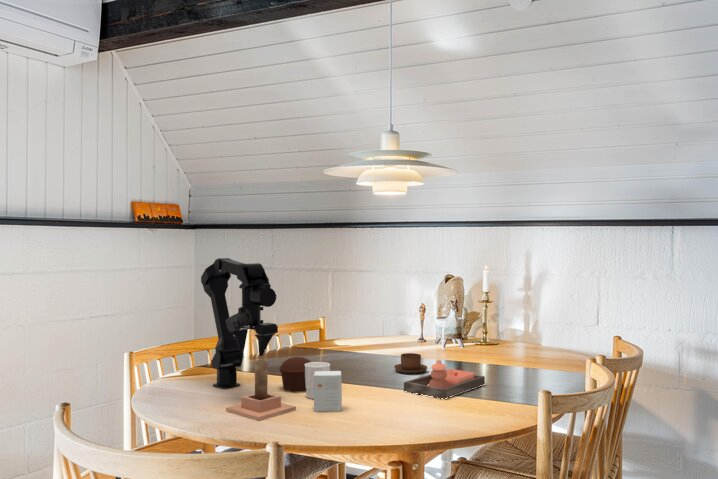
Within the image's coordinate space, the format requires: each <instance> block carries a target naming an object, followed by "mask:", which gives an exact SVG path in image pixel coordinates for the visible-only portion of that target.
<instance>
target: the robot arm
mask: <svg viewBox="0 0 718 479" xmlns="http://www.w3.org/2000/svg"><path fill="white" fill-rule="evenodd" d="M232 275H234V276H236V279H237V280H238V281H240V282H241V284H240V285H239V287H238V288H239V289H241V306H239V307H238V312H237V313H235V314H233V315H231V316H230V312H229V307H228V302H227V297H226V292H227V290H228V287H229V280H231V277H232ZM200 283H201V285H202V287H203V291H204V293H206V295H207V296H208V297H209V298H210V302H211V307H212V312H213V318H214V321H215V322H214V323H215V328H216V334H217V338H218V340H217V342H216V346H215V347H214V349H215V352H214V355H213V357H212V359H211V360H210V364H211V368H212V369H215V370H216V383H212V386H214V387H217V388H221V389H228V388H229V389H230V388H234V387H237V386H238V387H239V386H241V383H239V382H238V380H237V379H238V378H237V374H238V373H237V368H238V367H240V368H241V367H242V363H243V360H244V358H243V357H244V351H245V347H246V342H247V336H248V331H249V330H253V331H255V333H256V334H254V336H255V337H256V338H257V342H258V343H257V345H258V355H259V357H263V356H264V354H265V352H266V349H267V347H268V345H269V344H270V342H271V339H272V338H273V337H274V336H275V335H276V334H278V332H279V329H278V328H279V326H278V325H277V323H273V322H264V319H261V317H262V316H261V314H262V313H261V312H262V311H264V307H266V308H269V307H272V306H273V305H274V304H275V303H276V300H277V294H276V291H275V290H274V289H273V288H272V286H271V285H272V284H270V279H269V277H268V276H267V273H266V271H265V268H264V267H263V265H262V263H259V262H257V263H256V262H255V263H243V262H240V261H237V260H234V259H232V258H230V257H225V258H223V257H222V258H221V257H218V258H217V259H215V260H214V262H213V263H212V264H210V265H209V266H207V267H206V268H205V269H204V271H203V273H202V275H201V276H200Z"/></svg>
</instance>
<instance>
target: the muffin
mask: <svg viewBox="0 0 718 479" xmlns="http://www.w3.org/2000/svg"><path fill="white" fill-rule="evenodd" d="M310 362H312V361H311V360H309V359H308V358H306V357H303V356H294V357H293V356H292V357H290V358H287V359H286V360H284V361H283V362H282V364H281V365H280V367H279V370H278V371H279V372H280V373H281V379H282V380H281V381H282V388H283V390H284V391H286V392H291V393H293V392H294V393H300V392H306V383H305V364H306V363H310Z"/></svg>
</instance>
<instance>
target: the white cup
mask: <svg viewBox="0 0 718 479" xmlns="http://www.w3.org/2000/svg"><path fill="white" fill-rule="evenodd" d="M315 371H331V363H330V362H323V361H311V362H310V363H306V364H305V383H306V391H305V392H306V393H305V394H306V395H305V397H306V398H308V399H310V400H311V399H312V400H314V372H315Z"/></svg>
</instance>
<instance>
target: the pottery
mask: <svg viewBox="0 0 718 479" xmlns="http://www.w3.org/2000/svg"><path fill="white" fill-rule="evenodd" d="M430 368H431V369H432V370H431V371H430V374H431V377H432V378H433V379H431V380H430V382H429V385H428V386H432V387H437V388H442V389H444V388H447V387H450V386H453V385H456V384H459V383H462V382H465V381H468V380H471V379H474V378H475V375H476V372H471V371H465V370H460V369H453V368H449V369H447V366H446V365H445V364H443V363H442V360H436V363H433V364H432V365H431V366H430Z"/></svg>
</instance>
